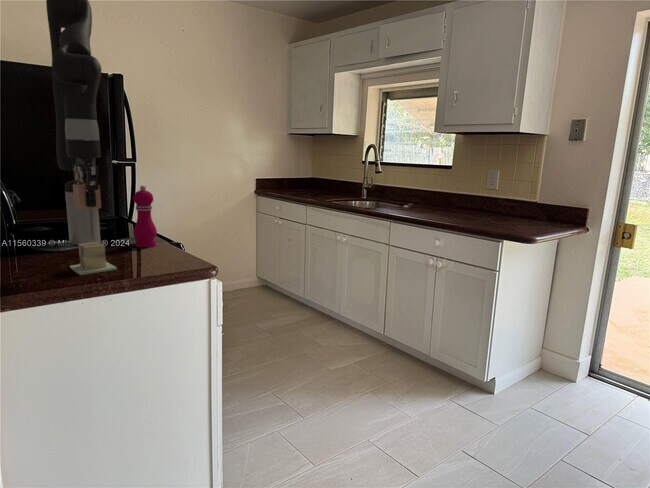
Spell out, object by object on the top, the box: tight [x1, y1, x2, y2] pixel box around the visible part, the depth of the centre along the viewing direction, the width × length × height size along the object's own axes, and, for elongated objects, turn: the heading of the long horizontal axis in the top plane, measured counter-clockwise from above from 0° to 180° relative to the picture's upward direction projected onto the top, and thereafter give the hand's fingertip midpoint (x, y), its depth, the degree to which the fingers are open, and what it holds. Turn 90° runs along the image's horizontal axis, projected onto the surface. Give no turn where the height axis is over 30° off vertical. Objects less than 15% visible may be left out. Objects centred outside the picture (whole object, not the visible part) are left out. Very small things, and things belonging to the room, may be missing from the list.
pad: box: [69, 261, 118, 276], centre depth 119 cm, size 9×9×1 cm
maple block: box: [77, 241, 107, 270], centre depth 119 cm, size 5×5×6 cm
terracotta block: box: [73, 184, 102, 210], centre depth 115 cm, size 5×5×6 cm
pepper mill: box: [132, 185, 158, 248], centre depth 146 cm, size 7×7×20 cm
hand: (87, 205), depth 116 cm, fingers closed on terracotta block, 5 cm apart
